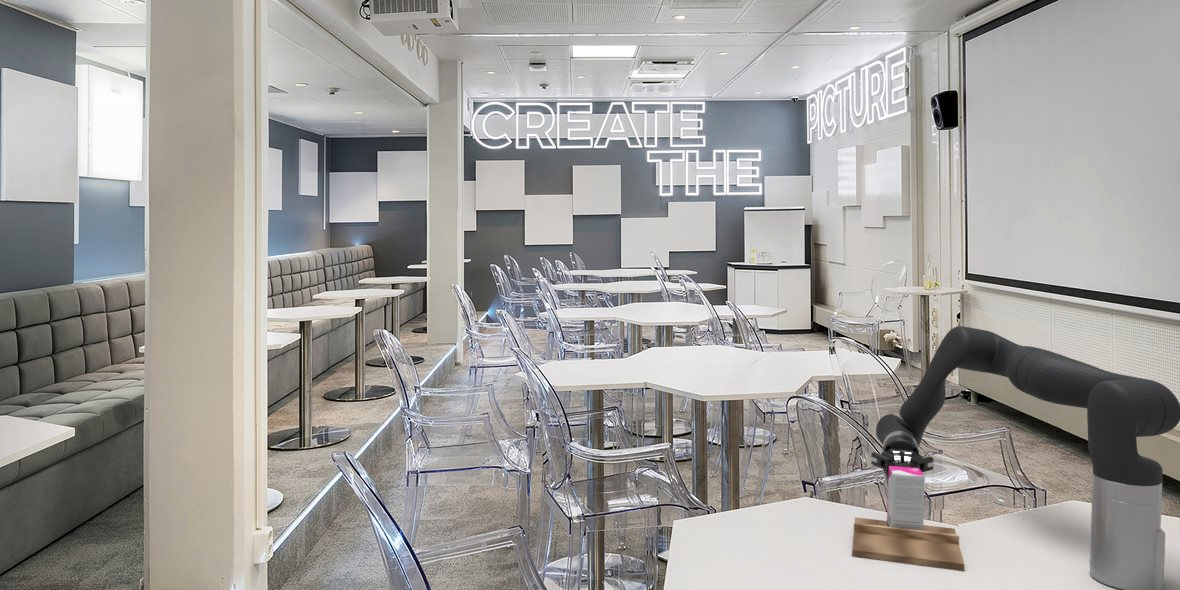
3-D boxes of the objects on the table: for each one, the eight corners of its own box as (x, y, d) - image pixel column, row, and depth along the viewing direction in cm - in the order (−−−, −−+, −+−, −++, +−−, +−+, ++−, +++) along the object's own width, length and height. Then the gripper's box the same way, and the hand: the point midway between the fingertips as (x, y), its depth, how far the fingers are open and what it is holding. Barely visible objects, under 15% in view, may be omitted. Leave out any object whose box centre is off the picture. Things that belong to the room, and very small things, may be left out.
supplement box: (924, 536, 138) (925, 475, 137) (890, 533, 139) (891, 473, 139) (918, 524, 143) (919, 466, 143) (886, 522, 145) (886, 465, 144)
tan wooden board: (954, 534, 141) (954, 520, 141) (964, 571, 126) (964, 555, 125) (854, 523, 148) (855, 509, 148) (852, 556, 132) (852, 541, 132)
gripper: (869, 432, 169) (868, 451, 153) (933, 436, 164) (939, 457, 148) (869, 464, 169) (868, 487, 153) (932, 469, 164) (938, 494, 148)
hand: (903, 472), depth 151 cm, fingers closed
